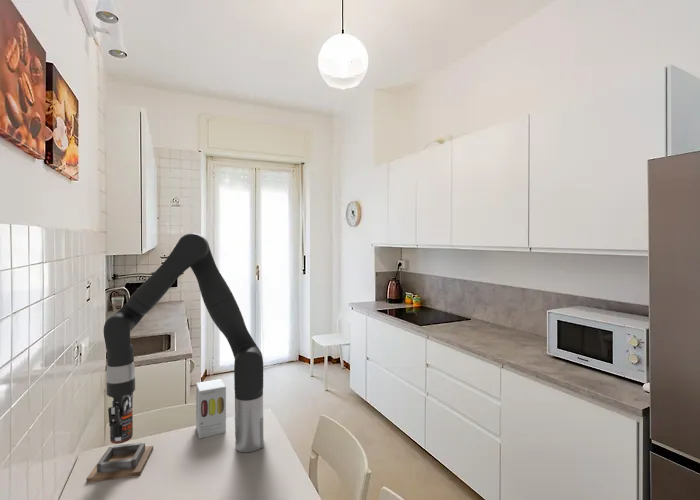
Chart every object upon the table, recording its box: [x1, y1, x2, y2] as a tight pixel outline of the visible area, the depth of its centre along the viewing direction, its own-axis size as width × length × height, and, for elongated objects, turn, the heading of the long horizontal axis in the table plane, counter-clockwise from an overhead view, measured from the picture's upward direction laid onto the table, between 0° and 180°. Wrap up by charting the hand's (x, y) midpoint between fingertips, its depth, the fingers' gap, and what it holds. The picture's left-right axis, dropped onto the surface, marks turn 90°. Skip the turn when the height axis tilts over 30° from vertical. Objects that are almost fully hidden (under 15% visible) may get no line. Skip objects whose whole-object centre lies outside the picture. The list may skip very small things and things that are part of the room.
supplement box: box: [195, 378, 227, 439], centre depth 136 cm, size 10×9×17 cm
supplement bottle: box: [109, 402, 134, 445], centre depth 115 cm, size 6×6×11 cm
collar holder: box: [86, 442, 154, 484], centre depth 115 cm, size 14×14×4 cm
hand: (121, 431), depth 115 cm, fingers closed on supplement bottle, 6 cm apart
